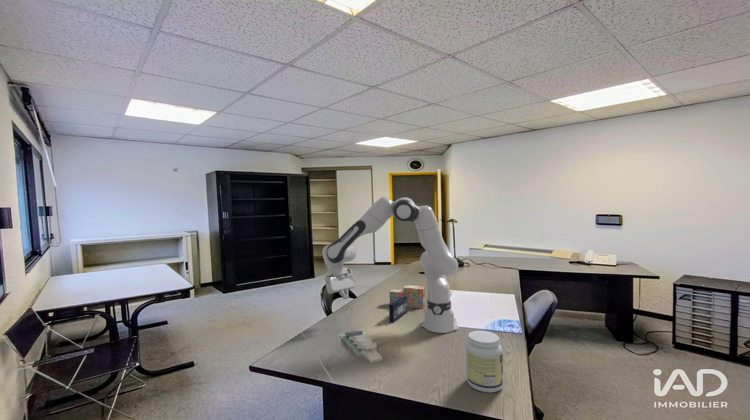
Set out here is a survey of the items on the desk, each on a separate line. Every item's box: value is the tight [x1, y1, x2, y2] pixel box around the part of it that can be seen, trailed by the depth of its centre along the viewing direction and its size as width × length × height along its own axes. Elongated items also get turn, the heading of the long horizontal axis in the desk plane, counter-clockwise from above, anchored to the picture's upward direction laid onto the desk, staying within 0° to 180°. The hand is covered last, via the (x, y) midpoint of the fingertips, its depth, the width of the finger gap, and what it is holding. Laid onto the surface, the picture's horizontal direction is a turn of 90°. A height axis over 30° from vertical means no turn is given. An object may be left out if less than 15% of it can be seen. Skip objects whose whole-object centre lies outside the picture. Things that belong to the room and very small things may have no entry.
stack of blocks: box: [389, 284, 426, 310], centre depth 198 cm, size 21×6×12 cm, turn 72°
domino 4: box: [357, 342, 378, 350], centre depth 137 cm, size 2×5×10 cm
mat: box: [338, 329, 379, 357], centre depth 147 cm, size 25×10×1 cm, turn 26°
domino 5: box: [362, 348, 384, 364], centre depth 132 cm, size 2×5×10 cm
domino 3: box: [353, 338, 373, 345], centre depth 141 cm, size 2×5×10 cm
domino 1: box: [344, 330, 364, 337], centre depth 150 cm, size 2×5×10 cm
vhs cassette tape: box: [388, 296, 408, 324], centre depth 178 cm, size 18×3×10 cm, turn 148°
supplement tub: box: [465, 330, 504, 393], centre depth 111 cm, size 12×12×17 cm
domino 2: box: [349, 334, 368, 341], centre depth 146 cm, size 2×5×10 cm
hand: (346, 298), depth 163 cm, fingers closed
